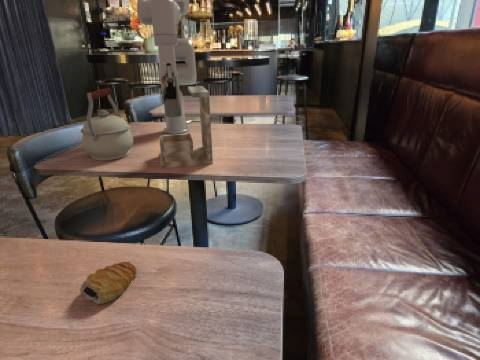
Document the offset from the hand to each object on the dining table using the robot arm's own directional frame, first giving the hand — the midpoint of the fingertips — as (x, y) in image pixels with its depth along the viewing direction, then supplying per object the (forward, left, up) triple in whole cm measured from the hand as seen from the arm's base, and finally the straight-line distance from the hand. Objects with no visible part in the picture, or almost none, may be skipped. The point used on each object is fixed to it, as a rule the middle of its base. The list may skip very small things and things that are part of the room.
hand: (171, 97), depth 110 cm
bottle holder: (-2, +2, -23) cm, 23 cm away
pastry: (+57, +39, -23) cm, 72 cm away
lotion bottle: (0, 0, -7) cm, 7 cm away
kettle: (+9, -27, -23) cm, 37 cm away
